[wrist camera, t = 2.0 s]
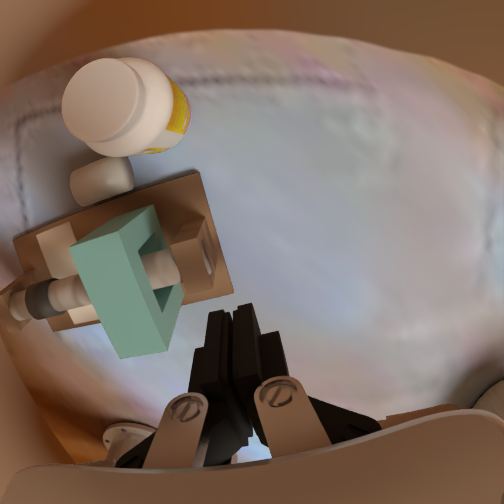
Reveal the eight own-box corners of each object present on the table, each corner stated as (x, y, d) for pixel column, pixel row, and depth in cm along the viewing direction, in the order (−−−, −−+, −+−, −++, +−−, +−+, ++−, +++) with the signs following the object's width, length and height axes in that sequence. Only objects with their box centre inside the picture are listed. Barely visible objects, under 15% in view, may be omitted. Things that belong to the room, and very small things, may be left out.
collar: (184, 294, 29) (167, 351, 21) (147, 303, 29) (120, 358, 21) (153, 204, 26) (117, 231, 18) (114, 216, 26) (68, 247, 18)
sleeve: (136, 175, 27) (131, 197, 25) (93, 191, 27) (84, 214, 25) (121, 144, 25) (113, 164, 22) (76, 163, 25) (65, 184, 22)
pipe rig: (233, 290, 31) (234, 333, 24) (55, 329, 31) (26, 366, 24) (199, 171, 27) (186, 180, 20) (15, 239, 28) (-26, 262, 20)
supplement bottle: (163, 69, 24) (113, 18, 11) (207, 120, 25) (185, 97, 13) (109, 117, 25) (29, 105, 12) (151, 168, 27) (90, 186, 14)
